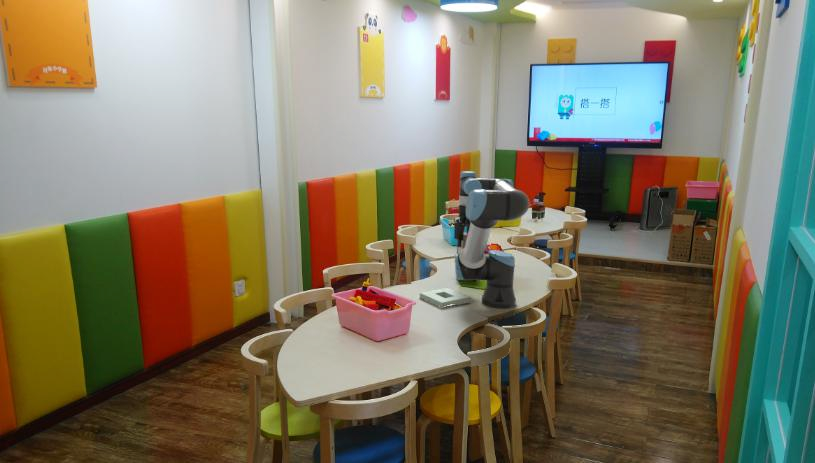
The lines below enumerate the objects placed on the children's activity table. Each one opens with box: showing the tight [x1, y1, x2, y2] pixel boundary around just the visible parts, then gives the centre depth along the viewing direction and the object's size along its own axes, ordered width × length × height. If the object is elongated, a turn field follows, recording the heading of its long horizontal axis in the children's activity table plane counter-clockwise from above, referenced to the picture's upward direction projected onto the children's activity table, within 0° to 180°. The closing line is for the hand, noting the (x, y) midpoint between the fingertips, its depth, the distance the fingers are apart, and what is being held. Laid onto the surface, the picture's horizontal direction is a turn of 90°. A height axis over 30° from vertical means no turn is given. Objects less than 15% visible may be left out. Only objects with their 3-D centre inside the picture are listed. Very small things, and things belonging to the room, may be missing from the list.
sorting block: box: [419, 287, 471, 308], centre depth 259 cm, size 16×16×2 cm
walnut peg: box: [456, 231, 468, 254], centre depth 274 cm, size 6×4×13 cm, turn 35°
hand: (464, 252), depth 274 cm, fingers closed on walnut peg, 4 cm apart
